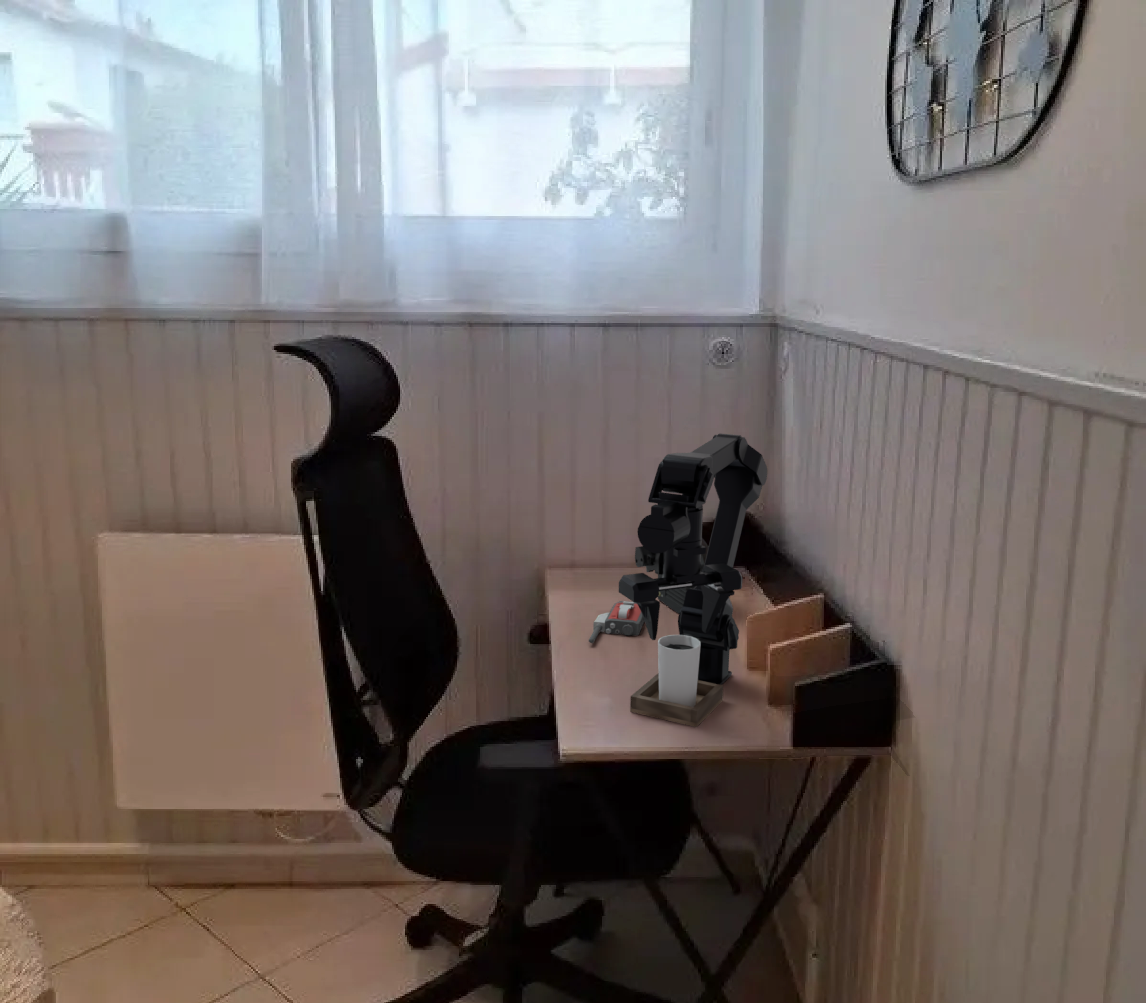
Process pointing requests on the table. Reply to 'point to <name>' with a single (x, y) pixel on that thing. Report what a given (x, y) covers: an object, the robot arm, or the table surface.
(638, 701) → the frame
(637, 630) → the walkie-talkie
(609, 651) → the table surface
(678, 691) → the white cup
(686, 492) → the robot arm
